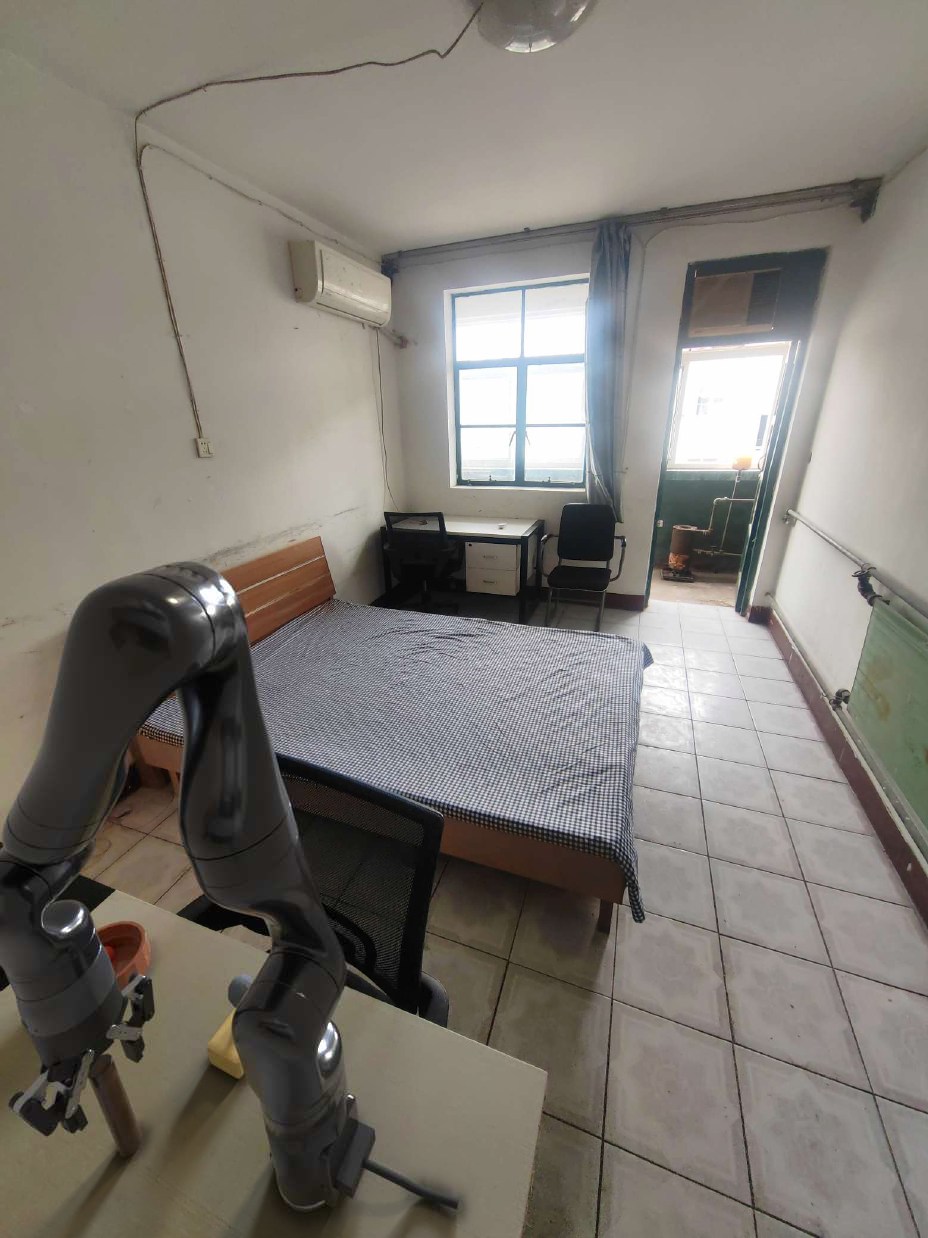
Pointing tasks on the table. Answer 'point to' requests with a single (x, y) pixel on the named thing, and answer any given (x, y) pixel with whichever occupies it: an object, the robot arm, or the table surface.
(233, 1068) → the rubber stamp
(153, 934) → the table surface
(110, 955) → the ball
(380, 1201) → the table surface
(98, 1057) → the robot arm
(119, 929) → the bowl
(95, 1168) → the table surface
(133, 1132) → the stick
